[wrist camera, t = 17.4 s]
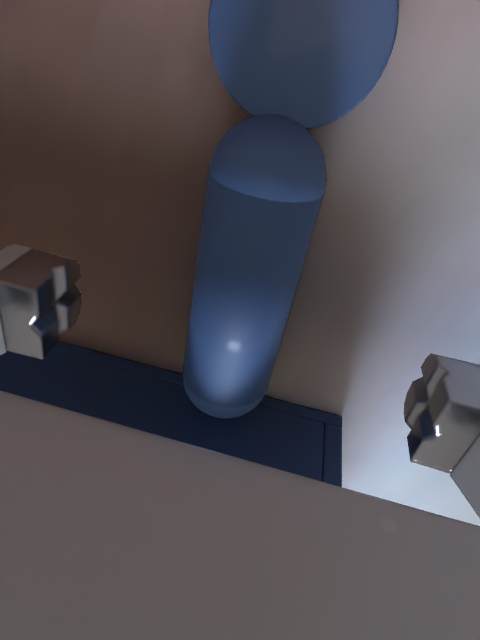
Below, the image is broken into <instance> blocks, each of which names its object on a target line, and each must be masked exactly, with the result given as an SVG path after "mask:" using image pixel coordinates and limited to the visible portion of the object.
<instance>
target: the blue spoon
mask: <svg viewBox="0 0 480 640" xmlns="http://www.w3.org/2000/svg"><path fill="white" fill-rule="evenodd" d="M398 13H399V1H398V0H211V3H210V9H209V24H208V26H209V41H210V47H211V53H212V57H213V60H214V64H215V67H216V70H217V72H218V75H219V77H220V79H221V81H222V83H223V85H224V86H225V88H226V90H227V91H228V93H229V94H230V95H231V97H232V98H233V99H234V100H235V102H236V103H237V104H238V105H239V106H240V107H241V108H242V109H243V110H245V111H246V112H247V113H248V114H249V115H251V116H252V117H250V118H247V119H245V120H243V121H241V122H240V123H238V124H236V125H234V126H233V127H232V128H231V129H230V130H229V131H228V132H227V133H225V135H224V136H223V137H222V139H221V140H220V141H219V143H218V144H217V146H216V148H215V151H214V153H213V155H212V157H211V162H210V166H209V172H208V180H207V188H206V195H205V203H204V211H203V219H202V226H201V234H200V242H199V249H198V257H197V265H196V273H195V280H194V288H193V296H192V304H191V311H190V319H189V327H188V334H187V342H186V350H185V358H184V365H183V383H184V387H185V390H186V393H187V395H188V397H189V398H190V400H191V401H192V403H193V404H194V405H195V406H196V407H197V408H198V409H200V410H201V411H202V412H204V413H206V414H208V415H210V416H213V417H217V418H235V417H239V416H242V415H244V414H246V413H248V412H249V411H251V410H252V409H253V408H255V407H256V406H257V405H258V403H259V402H260V401H261V399H262V398H263V397H264V394H265V392H266V390H267V387H268V384H269V380H270V377H271V374H272V370H273V367H274V363H275V360H276V356H277V353H278V349H279V346H280V343H281V339H282V336H283V332H284V329H285V325H286V322H287V319H288V315H289V312H290V308H291V305H292V301H293V298H294V295H295V291H296V288H297V284H298V281H299V277H300V274H301V270H302V267H303V264H304V260H305V257H306V253H307V250H308V246H309V243H310V240H311V236H312V233H313V229H314V226H315V222H316V219H317V215H318V212H319V209H320V205H321V202H322V198H323V195H324V191H325V186H326V165H325V161H324V156H323V153H322V151H321V148H320V146H319V144H318V142H317V141H316V140H315V138H314V137H313V135H312V134H311V133H310V132H309V131H308V130H307V129H313V128H316V127H320V126H323V125H326V124H328V123H331V122H333V121H335V120H337V119H339V118H340V117H342V116H344V115H345V114H347V113H348V112H349V111H351V110H352V109H353V108H355V107H356V106H357V105H358V104H359V103H360V102H361V101H362V100H363V99H364V98H365V97H366V96H367V94H368V93H369V92H370V91H371V90H372V88H373V87H374V85H375V84H376V82H377V81H378V79H379V78H380V76H381V74H382V72H383V70H384V68H385V66H386V64H387V62H388V59H389V57H390V54H391V52H392V49H393V45H394V41H395V37H396V32H397V25H398Z"/></svg>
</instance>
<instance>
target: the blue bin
mask: <svg viewBox="0 0 480 640" xmlns="http://www.w3.org/2000/svg"><path fill="white" fill-rule="evenodd" d="M0 391H4V392H7V393H11V394H14V395H18V396H21V397H25V398H28V399H32V400H36V401H39V402H43V403H46V404H50V405H53V406H57V407H60V408H64V409H67V410H71V411H74V412H78V413H81V414H85V415H88V416H92V417H95V418H99V419H102V420H106V421H110V422H113V423H117V424H120V425H124V426H127V427H131V428H134V429H138V430H141V431H145V432H148V433H152V434H156V435H159V436H163V437H166V438H170V439H173V440H177V441H180V442H184V443H187V444H191V445H195V446H198V447H202V448H205V449H209V450H212V451H216V452H219V453H223V454H226V455H230V456H234V457H237V458H241V459H244V460H248V461H251V462H255V463H258V464H262V465H265V466H269V467H272V468H276V469H279V470H283V471H286V472H290V473H293V474H297V475H300V476H304V477H307V478H311V479H314V480H318V481H321V482H325V483H328V484H332V485H335V486H339V487H342V429H341V428H342V417H340V416H337V415H333V414H329V413H325V412H322V411H318V410H314V409H310V408H306V407H303V406H299V405H295V404H291V403H288V402H284V401H280V400H276V399H273V398H269V397H265V396H264V397H263V398H262V399H261V401H260V402H259V403H258V405H257V406H256V407H255V408H253V409H252V410H251V411H249V412H248V413H246V414H244V415H242V416H239V417H235V418H217V417H213V416H210V415H208V414H206V413H204V412H202V411H201V410H200V409H198V408H197V407H196V406H195V405H194V404H193V403H192V401H191V400H190V398H189V397H188V395H187V393H186V390H185V387H184V383H183V375H182V374H179V373H175V372H171V371H167V370H163V369H160V368H156V367H152V366H148V365H145V364H141V363H137V362H133V361H130V360H126V359H122V358H118V357H115V356H111V355H107V354H103V353H99V352H96V351H92V350H88V349H84V348H81V347H77V346H73V345H69V344H66V343H62V342H58V343H57V344H56V345H55V346H54V347H53V349H52V350H51V351H50V352H49V353H48V354H47V355H46V356H45V357H44V358H43V359H38V358H34V357H30V356H26V355H22V354H18V353H14V352H10V351H6V353H4V354H2V355H0Z"/></svg>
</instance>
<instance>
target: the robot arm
mask: <svg viewBox="0 0 480 640" xmlns="http://www.w3.org/2000/svg"><path fill="white" fill-rule="evenodd" d="M80 278H81V277H80V265H79V264H78V263H77V261H76V260H73V259H69V258H66V257H62V256H59V255H55V254H52V253H48V252H44V251H41V250H37V249H34V248H30V247H26V246H22V245H18V244H9V245H8V246H6V247H5V248H3V249H2V250H0V355H2V354H4V353H6V351H10V352H14V353H18V354H22V355H26V356H30V357H34V358H38V359H43V358H44V357H45V356H46V355H47V354H48V353H49V352H50V351H51V350H52V349H53V347H54V346H55V345H56V344H57V343H58V342H59V340H58V334H60V333H63V332H66V331H69V330H70V329H71V327H72V326H73V325H74V324H75V323H76V320H77V318H78V316H79V314H80V310H81V304H82V298H81V293H80V291H79V290H78V288H77V287H76V285H75V283H76V282H77V281H78V280H79V279H80ZM421 369H422V374H423V377H421V378H419V379H417V380H415V381H413V382H412V384H411V386H410V388H409V390H408V392H407V396H406V399H405V403H404V419H405V422H406V424H407V425H408V426H409V427H410V428H411V431H410V433H409V435H408V436H407V440H408V447H409V454H410V460H411V462H414V463H417V464H421V465H424V466H427V467H430V468H434V469H437V470H440V471H444V472H447V473H450V476H451V478H452V479H453V480H454V482H455V483H456V485H457V486H458V488H459V489H460V490H461V492H462V493H463V495H464V496H465V498H466V499H467V501H468V502H469V503H470V505H471V506H472V508H473V509H474V511H475V512H476V513H477V515H478V516H479V518H480V365H479V364H474V363H470V362H466V361H461V360H457V359H453V358H449V357H445V356H440V355H436V354H432V353H431V354H430V355H429V356H428V357H427V358H426V359H425V361H424V363H423V364H422V366H421ZM0 640H480V526H477V525H473V524H470V523H466V522H462V521H459V520H455V519H452V518H448V517H444V516H441V515H437V514H434V513H430V512H427V511H423V510H420V509H416V508H413V507H409V506H406V505H402V504H399V503H395V502H392V501H388V500H385V499H381V498H378V497H374V496H371V495H367V494H364V493H360V492H356V491H353V490H349V489H346V488H342V487H339V486H335V485H332V484H328V483H325V482H321V481H318V480H314V479H311V478H307V477H304V476H300V475H297V474H293V473H290V472H286V471H283V470H279V469H276V468H272V467H269V466H265V465H262V464H258V463H255V462H251V461H248V460H244V459H241V458H237V457H234V456H230V455H226V454H223V453H219V452H216V451H212V450H209V449H205V448H202V447H198V446H195V445H191V444H187V443H184V442H180V441H177V440H173V439H170V438H166V437H163V436H159V435H156V434H152V433H148V432H145V431H141V430H138V429H134V428H131V427H127V426H124V425H120V424H117V423H113V422H110V421H106V420H102V419H99V418H95V417H92V416H88V415H85V414H81V413H78V412H74V411H71V410H67V409H64V408H60V407H57V406H53V405H50V404H46V403H43V402H39V401H36V400H32V399H28V398H25V397H21V396H18V395H14V394H11V393H7V392H4V391H0Z"/></svg>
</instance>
